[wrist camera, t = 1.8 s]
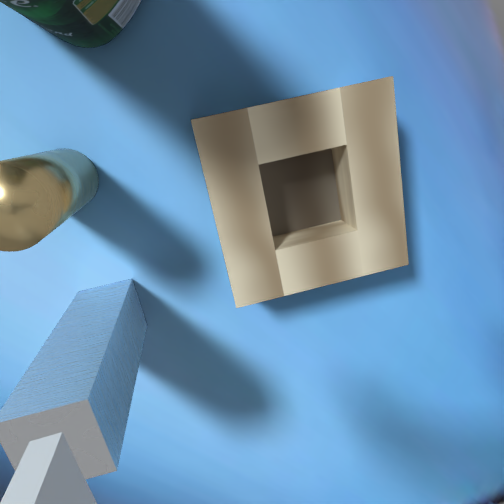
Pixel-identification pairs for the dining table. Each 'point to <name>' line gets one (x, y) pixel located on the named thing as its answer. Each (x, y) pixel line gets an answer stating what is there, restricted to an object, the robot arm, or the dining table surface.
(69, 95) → the dining table surface
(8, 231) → the round bit
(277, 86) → the dining table surface
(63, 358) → the square bit
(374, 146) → the socket block
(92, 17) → the coffee jar
